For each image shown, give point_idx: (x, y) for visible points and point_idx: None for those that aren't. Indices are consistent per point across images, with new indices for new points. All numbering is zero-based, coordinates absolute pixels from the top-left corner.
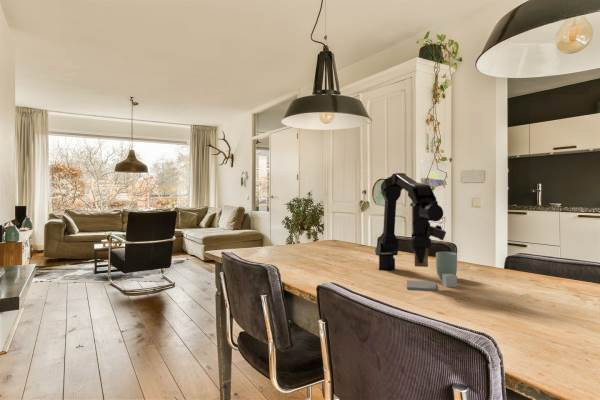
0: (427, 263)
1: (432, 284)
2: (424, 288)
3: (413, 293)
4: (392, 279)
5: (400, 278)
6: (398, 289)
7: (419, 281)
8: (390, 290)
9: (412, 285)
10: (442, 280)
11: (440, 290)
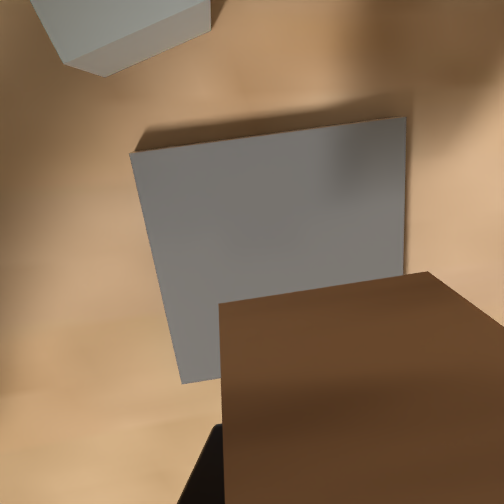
0: (463, 304)
1: (254, 168)
2: (402, 222)
3: (494, 281)
4: (131, 472)
5: (66, 436)
6: None
7: (181, 290)
8: None
9: None
10: (105, 67)
11: (364, 84)
